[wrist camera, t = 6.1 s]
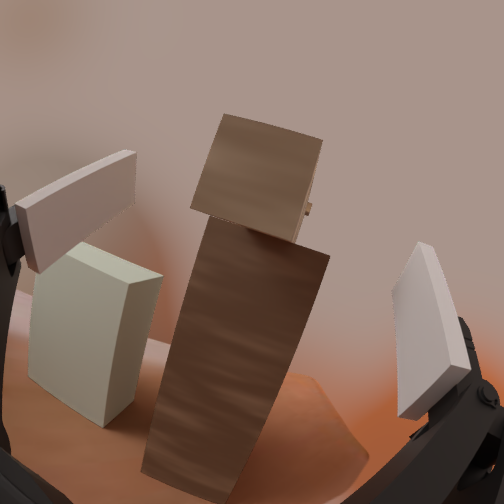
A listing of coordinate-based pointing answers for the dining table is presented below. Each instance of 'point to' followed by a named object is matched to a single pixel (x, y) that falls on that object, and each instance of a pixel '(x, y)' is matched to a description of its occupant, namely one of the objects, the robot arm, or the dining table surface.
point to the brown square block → (258, 177)
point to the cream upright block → (91, 330)
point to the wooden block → (229, 356)
